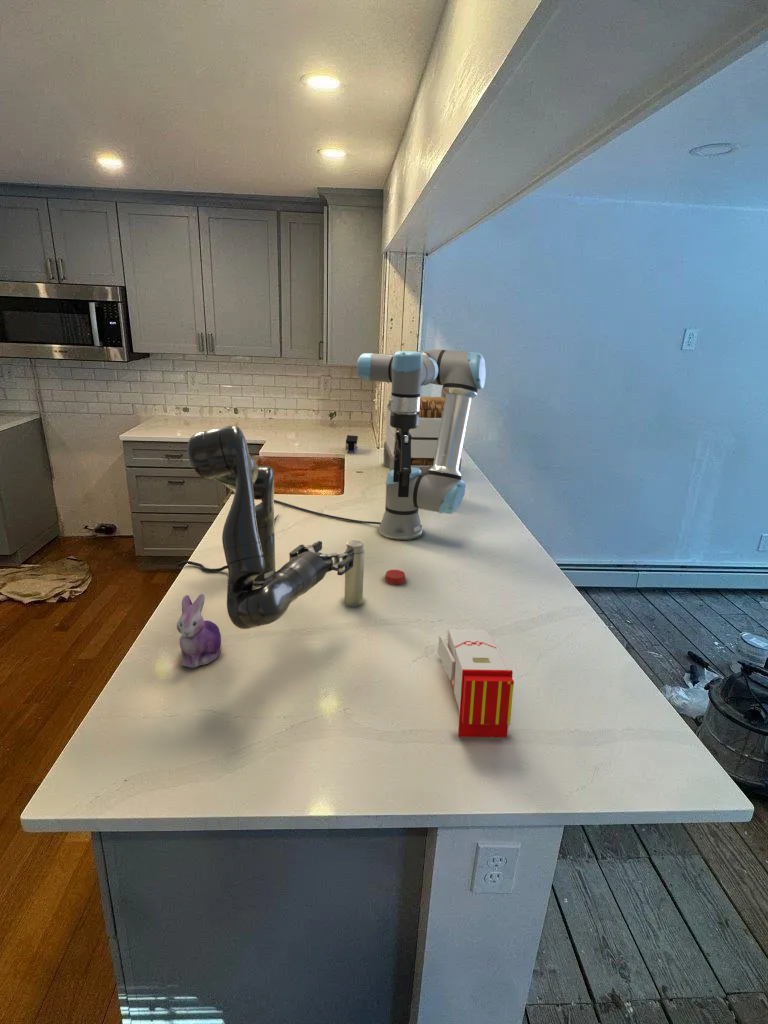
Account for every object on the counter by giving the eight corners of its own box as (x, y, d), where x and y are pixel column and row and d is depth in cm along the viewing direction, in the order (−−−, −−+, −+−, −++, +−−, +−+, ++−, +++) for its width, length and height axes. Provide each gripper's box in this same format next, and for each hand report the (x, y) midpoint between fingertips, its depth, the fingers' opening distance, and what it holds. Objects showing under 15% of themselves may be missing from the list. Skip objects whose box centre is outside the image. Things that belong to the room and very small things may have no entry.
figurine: (183, 674, 120) (177, 612, 115) (175, 649, 128) (169, 590, 123) (228, 663, 124) (224, 603, 119) (218, 640, 132) (214, 582, 127)
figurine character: (357, 456, 305) (358, 447, 318) (357, 443, 301) (358, 434, 315) (344, 456, 304) (346, 446, 318) (345, 443, 301) (346, 433, 315)
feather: (285, 509, 222) (288, 505, 222) (267, 533, 195) (270, 529, 195) (282, 506, 222) (284, 502, 221) (263, 530, 195) (266, 526, 195)
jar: (348, 607, 150) (349, 548, 144) (341, 599, 154) (342, 541, 148) (365, 604, 152) (367, 545, 146) (358, 596, 156) (360, 538, 150)
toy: (488, 613, 130) (523, 677, 101) (484, 667, 133) (517, 744, 104) (435, 612, 130) (455, 676, 101) (432, 666, 133) (451, 743, 103)
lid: (406, 577, 168) (407, 571, 167) (402, 586, 162) (402, 579, 162) (388, 574, 169) (388, 568, 168) (383, 583, 164) (383, 576, 163)
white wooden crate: (382, 463, 289) (386, 382, 275) (445, 464, 293) (451, 384, 279) (390, 482, 257) (394, 392, 243) (460, 483, 261) (468, 394, 247)
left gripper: (330, 565, 119) (363, 539, 133) (272, 551, 124) (310, 528, 138) (329, 597, 121) (362, 568, 135) (273, 582, 126) (310, 556, 141)
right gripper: (386, 404, 161) (383, 475, 168) (395, 420, 137) (390, 503, 144) (412, 404, 161) (408, 476, 168) (425, 421, 138) (420, 504, 145)
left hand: (336, 548), depth 137 cm, fingers open, 8 cm apart
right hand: (400, 489), depth 156 cm, fingers open, 13 cm apart
